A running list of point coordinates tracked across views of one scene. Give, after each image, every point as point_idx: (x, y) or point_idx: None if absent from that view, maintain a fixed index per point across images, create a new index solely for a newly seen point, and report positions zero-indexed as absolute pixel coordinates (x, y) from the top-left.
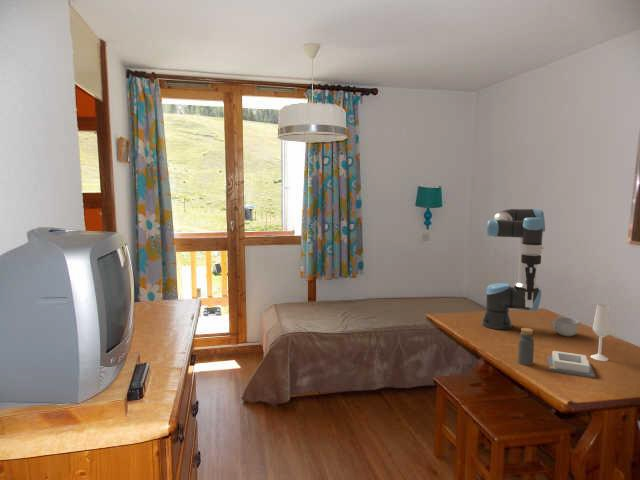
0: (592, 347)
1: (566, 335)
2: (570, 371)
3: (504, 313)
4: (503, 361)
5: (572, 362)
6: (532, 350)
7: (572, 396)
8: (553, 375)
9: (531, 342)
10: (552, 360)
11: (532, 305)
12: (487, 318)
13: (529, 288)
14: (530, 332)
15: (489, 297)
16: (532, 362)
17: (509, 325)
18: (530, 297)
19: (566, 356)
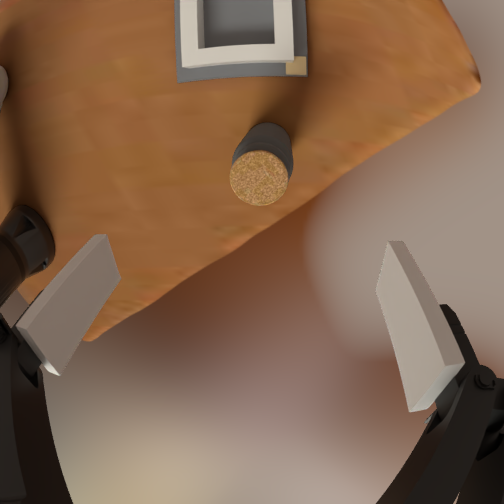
0: (51, 9)
1: (7, 81)
2: (302, 20)
3: (11, 241)
4: (285, 204)
5: (280, 8)
6: (278, 133)
7: (453, 60)
8: (339, 70)
9: (286, 145)
10: (222, 65)
11: (408, 254)
12: (37, 267)
13: (434, 430)
14: (281, 162)
15: (3, 302)
16: (274, 124)
17: (25, 212)
18: (457, 332)
19: (199, 26)
